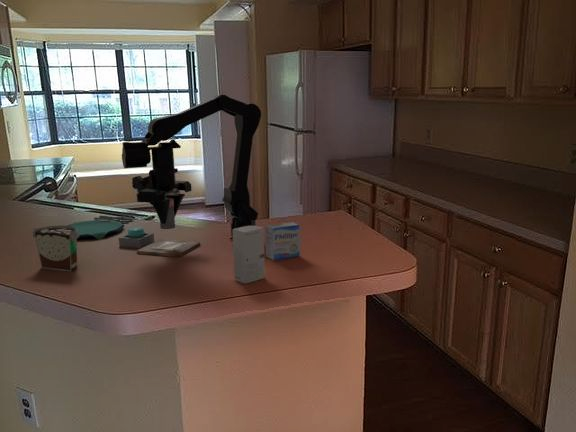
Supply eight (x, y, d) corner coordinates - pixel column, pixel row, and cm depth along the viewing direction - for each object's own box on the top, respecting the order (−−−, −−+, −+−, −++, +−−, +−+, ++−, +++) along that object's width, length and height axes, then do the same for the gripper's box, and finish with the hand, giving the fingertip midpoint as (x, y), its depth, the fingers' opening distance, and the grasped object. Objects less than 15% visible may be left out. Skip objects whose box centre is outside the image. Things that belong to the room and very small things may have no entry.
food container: (93, 264, 126) (89, 226, 124) (76, 272, 121) (71, 232, 118) (55, 260, 130) (50, 223, 128) (36, 267, 125) (31, 229, 122)
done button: (147, 235, 145) (146, 228, 144) (138, 239, 141) (137, 231, 140) (134, 234, 146) (133, 227, 146) (125, 238, 142) (124, 230, 142)
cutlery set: (43, 240, 150) (42, 232, 150) (96, 219, 179) (96, 212, 179) (103, 243, 147) (102, 235, 147) (147, 221, 176) (147, 214, 176)
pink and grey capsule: (178, 226, 138) (176, 198, 137) (170, 229, 134) (168, 201, 133) (165, 225, 140) (163, 197, 138) (157, 228, 136) (154, 200, 134)
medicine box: (273, 261, 126) (272, 228, 124) (265, 256, 130) (265, 224, 128) (300, 256, 130) (299, 224, 128) (292, 252, 134) (291, 221, 132)
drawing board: (200, 244, 142) (200, 241, 142) (178, 257, 131) (178, 253, 131) (161, 241, 146) (160, 238, 146) (136, 253, 135) (136, 249, 135)
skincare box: (245, 284, 110) (243, 232, 108) (233, 279, 114) (230, 228, 111) (266, 277, 114) (264, 227, 112) (253, 273, 118) (252, 224, 115)
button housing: (154, 241, 146) (153, 233, 146) (140, 248, 140) (139, 239, 139) (134, 240, 148) (133, 231, 148) (119, 246, 142) (118, 237, 141)
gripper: (156, 161, 144) (160, 213, 148) (116, 169, 127) (122, 228, 131) (190, 161, 141) (194, 215, 144) (153, 170, 124) (158, 230, 127)
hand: (167, 221), depth 137 cm, fingers closed on pink and grey capsule, 4 cm apart
